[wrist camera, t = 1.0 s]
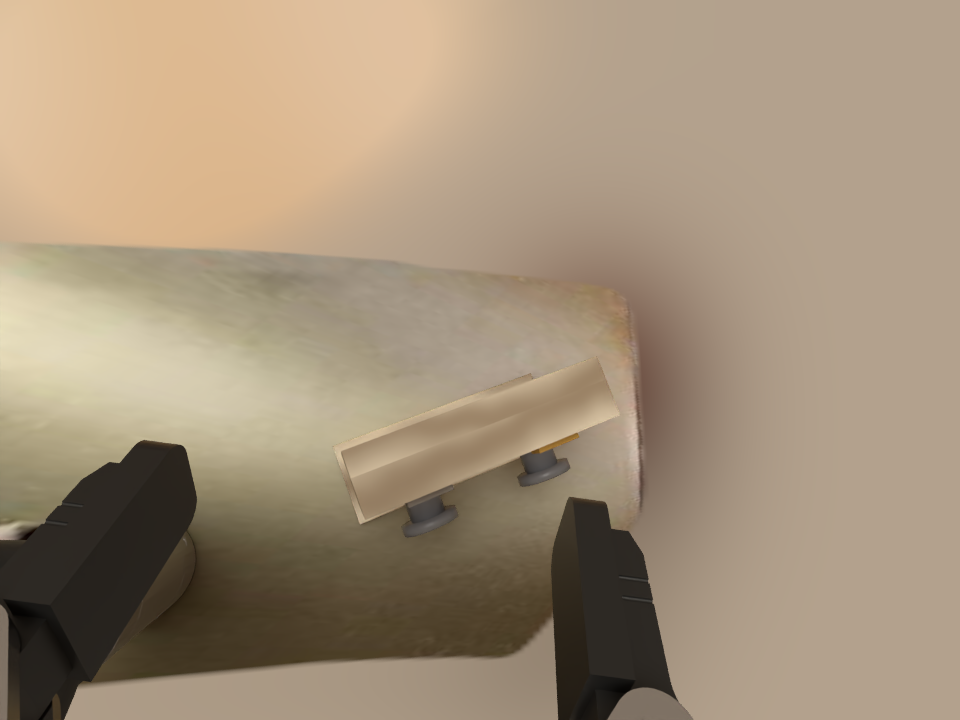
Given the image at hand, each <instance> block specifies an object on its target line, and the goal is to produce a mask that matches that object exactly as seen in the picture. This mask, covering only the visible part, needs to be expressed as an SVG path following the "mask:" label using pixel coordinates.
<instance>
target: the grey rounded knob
mask: <svg viewBox="0 0 960 720" xmlns="http://www.w3.org/2000/svg"><path fill="white" fill-rule="evenodd" d="M520 458H521V461H522V463H523V466H524V469H525V472H523V473H521V474H520V475H518V476H517V478H518V481H519V484H520V486H522V487H524V486H530V485H534V484H538V483H541V482H544V481H547V480H549V479H552V478H554V477H556V476H559V475H561V474H563V473H564V472H566V471H568V470H569V469H570V465H569V462H568V460H567V458H562V459H556V457H555V454H554V451H553V449H550V450H547V451H545V452H542V453H537V454H532V453H531V452H529V453H526V454H524V455H522V456H520Z"/></svg>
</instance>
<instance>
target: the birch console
mask: <svg viewBox="0 0 960 720" xmlns="http://www.w3.org/2000/svg"><path fill="white" fill-rule="evenodd" d="M618 415H620V413H619V411H618V408H617V406H616V403H615V401H614V398H613V395H612V393H611V390H610V388H609V385H608V383H607V380H606V378H605V375H604V373H603V370H602V368H601V365H600V363H599V360H598V357H597V356H596V357H593V358H590V359H588V360H585V361H582V362H580V363H577V364H574V365H572V366H569V367H566V368H564V369H561V370H558V371H555V372H553V373H550V374H547V375H545V376H542V377H539V378H537V379H534V380H533V378H532V376H531V373H530V374H528V375H525V376H522V377H519V378H517V379H514V380H511V381H509V382H506V383H503V384H500V385H498V386H495V387H492V388H489V389H487V390H484V391H481V392H479V393H476V394H473V395H470V396H468V397H465V398H462V399H459V400H457V401H454V402H451V403H449V404H446V405H443V406H440V407H438V408H435V409H432V410H430V411H427V412H424V413H421V414H419V415H416V416H413V417H410V418H408V419H405V420H402V421H400V422H397V423H394V424H391V425H389V426H386V427H383V428H381V429H378V430H375V431H372V432H370V433H367V434H364V435H361V436H359V437H356V438H353V439H351V440H348V441H345V442H342V443H340V444H337V445H334V446H333V448H334V451H335V454H336V457H337V460H338V463H339V465H340V468H341V471H342V474H343V477H344V480H345V483H346V486H347V488H348V491H349V494H350V497H351V500H352V503H353V506H354V509H355V511H356V514H357V517H358V520H359V523H360V524H362V523H365V522H367V521H369V520H372V519H374V518H377V517H379V516H382V515H384V514H386V513H389V512H391V511H394V510H396V509H398V508H401V507H403V506H405V505H406V506H407V507H408V508H410V507H413V506H415V505H417V504H420V503H422V502H425V501H427V500H429V499H432V498H434V497H437V496H439V495H441V494H444V493H446V492H449V491H451V490H453V489H454V488H453V486H454V485H456V484H459V483H461V482H464V481H466V480H468V479H471V478H473V477H476V476H478V475H481V474H483V473H485V472H488V471H490V470H493V469H495V468H497V467H500V466H502V465H505V464H507V463H509V462H512V461H514V460H517V459H519V458H520V456H522V455H524V454H526V453H529V452H531V453H532V454H537V453H542V452H545V451H547V450H550V449H552V448H554V447H557V446H559V445H562V444H564V443H566V442H569V441H571V440H574V439H576V438H578V437H579V435H578V433H577V432H580V431H582V430H585V429H587V428H589V427H592V426H594V425H597V424H599V423H601V422H604V421H606V420H609V419H611V418H614V417H616V416H618Z"/></svg>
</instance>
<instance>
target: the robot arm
mask: <svg viewBox="0 0 960 720" xmlns="http://www.w3.org/2000/svg"><path fill="white" fill-rule="evenodd" d="M196 503H197V496H196V491H195V486H194V482H193V478H192V474H191V469H190V465H189V461H188V456H187V452H186V450H185V448H184V447H183V446H182V445H177V444H169V443H162V442H155V441H147V440H143V441H140V442H139V443H137V444H136V445H135V446H134V447H133V448H132V449H131V450H130V452H129V453H128V454H127V455H126V456H125V457H124V459H123V460H122V461H121V462H120V463H112V462H109V463H107V464H106V465H104V466H102V467H101V468H99V469H98V470H96V471H95V472H93V473H91V474H90V475H88V476H87V477H85V478H84V479H82V480H81V481H80V482H79V483H78V484H77V486H76V487H75V488H74V489H73V490H72V491H71V492H70V493H69V494H68V495H67V497H66V498H65V499H64V500H63V501H62V505H61V506H57V508H56V509H55V510H54V511H53V512H52V513H51V514H50V515H49V516H48V517H47V519H46V522H45V524H41V525H40V526H39V527H38V528H37V530H36V531H35V532H34V533H33V534H32V535H31V536H30V537H29V538H28V539H27V540H0V720H64V719H65V716H66V713H67V711H68V709H69V707H70V704H71V702H72V699H73V697H74V695H75V692H76V689H77V686H78V685H79V684H80V683H81V682H82V681H88V682H91V681H92V680H93V678H94V676H95V675H96V673H97V672H98V670H99V668H100V667H101V665H102V664H103V663H104V662H106V661H107V660H108V659H109V658H110V657H111V656H112V655H113V654H115V653H116V652H117V651H118V650H119V649H121V648H122V647H123V646H124V645H125V644H126V643H128V642H129V641H130V640H131V639H132V638H133V637H135V636H136V635H137V634H138V633H139V632H140V631H142V630H143V629H144V628H145V627H146V626H148V625H149V624H150V623H151V622H152V621H153V620H155V619H156V618H157V617H158V616H160V615H161V614H162V613H163V612H164V611H165V610H167V609H168V608H169V607H170V606H171V605H172V604H174V603H175V602H176V601H177V600H178V599H179V597H180V596H181V595H182V594H183V593H184V592H185V590H186V588H187V587H188V585H189V583H190V581H191V579H192V576H193V573H194V569H195V562H196V557H195V548H194V545H193V542H192V539H191V537H190V536H189V534H188V532H187V531H186V530H187V529H188V527H189V525H190V523H191V521H192V519H193V516H194V513H195V509H196ZM551 576H552V597H553V618H554V639H555V660H556V679H557V680H556V681H557V700H558V701H557V702H558V720H693V718H692V717H691V715H690V714H689V713H688V711H687V710H686V709H685V708H684V707H683V706H682V705H681V704H680V703H679V702H678V700H677V698H676V696H675V694H674V691H673V689H672V685H671V682H670V677H669V673H668V668H667V663H666V659H665V654H664V649H663V645H662V640H661V635H660V630H659V626H658V621H657V617H656V612H655V607H654V604H652V600H653V598H652V593H651V588H650V584H648V574H647V570H646V565H645V561H644V555H643V553H642V551H641V550H640V548H639V547H638V545H637V544H636V542H635V541H634V539H633V538H632V536H631V534H630V533H629V531H622V530H615V529H611V526H610V519H609V513H608V508H607V505H606V503H605V502H603V501H596V500H588V499H581V498H574V497H569V498H568V500H567V503H566V506H565V510H564V513H563V516H562V519H561V523H560V526H559V529H558V532H557V536H556V539H555V542H554V547H553V553H552V564H551Z"/></svg>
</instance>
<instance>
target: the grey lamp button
mask: <svg viewBox="0 0 960 720" xmlns="http://www.w3.org/2000/svg"><path fill="white" fill-rule="evenodd" d="M405 506H406V505H405ZM406 508H407V511H408V514H409V517H410V521H408V522H407V523H405V524H404V525H403V526H402V530H403V533H404V536H405V537H414V536H417V535H421V534H424V533H427V532H429V531H432V530H434V529H437V528H439V527H441V526H443V525H445V524H447V523H449V522H451V521H452V520H454V519H455V518H456V517H457V516H458V512H457V510H456V507H455V505H449V506H445V507H444V505H443V502H442V499H441V497H440V495H439V496H437V497H434V498H432V499H429V500H427V501H425V502H422V503H420V504H417V505H415V506H413V507H410V508H408V507H407V506H406Z"/></svg>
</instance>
